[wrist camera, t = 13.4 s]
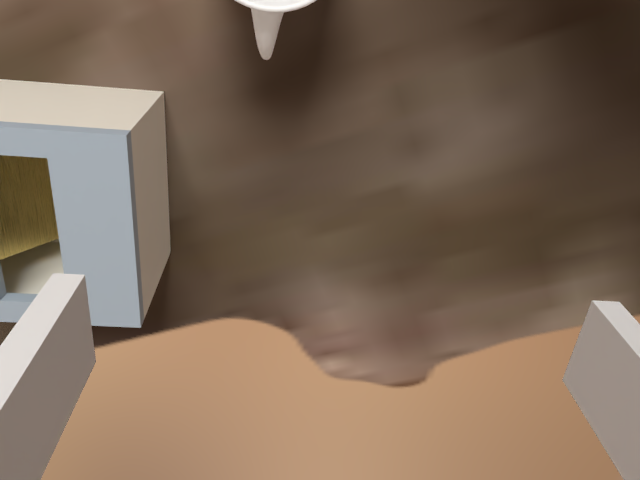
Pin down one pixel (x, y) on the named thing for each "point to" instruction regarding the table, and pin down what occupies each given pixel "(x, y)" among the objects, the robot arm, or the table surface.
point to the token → (25, 204)
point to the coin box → (92, 194)
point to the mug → (270, 20)
